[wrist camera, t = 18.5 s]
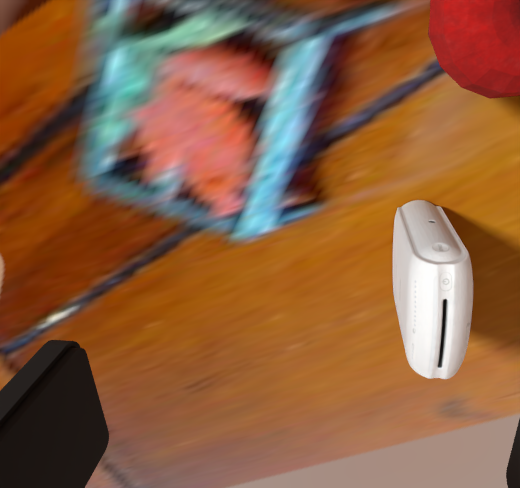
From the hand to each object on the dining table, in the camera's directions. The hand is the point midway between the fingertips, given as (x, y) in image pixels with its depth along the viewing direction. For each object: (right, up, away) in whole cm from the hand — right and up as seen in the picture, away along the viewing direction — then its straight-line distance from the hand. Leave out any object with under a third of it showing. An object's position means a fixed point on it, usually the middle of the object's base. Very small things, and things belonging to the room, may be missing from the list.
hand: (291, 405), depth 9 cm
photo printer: (+13, +3, +30) cm, 33 cm away
